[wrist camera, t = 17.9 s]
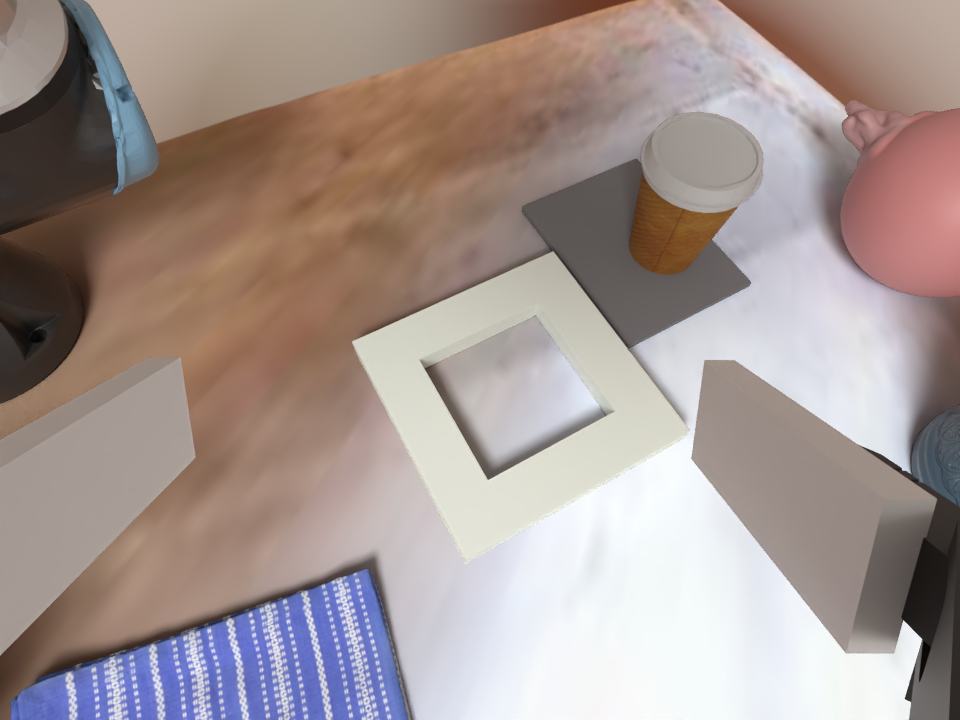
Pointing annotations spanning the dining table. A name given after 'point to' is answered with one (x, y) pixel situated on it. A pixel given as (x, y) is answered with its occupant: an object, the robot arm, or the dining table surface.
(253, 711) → the dish towel
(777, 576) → the dining table surface
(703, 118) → the disposable coffee cup
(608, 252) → the rubber mat
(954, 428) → the canister
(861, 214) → the balloon
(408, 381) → the holder board
